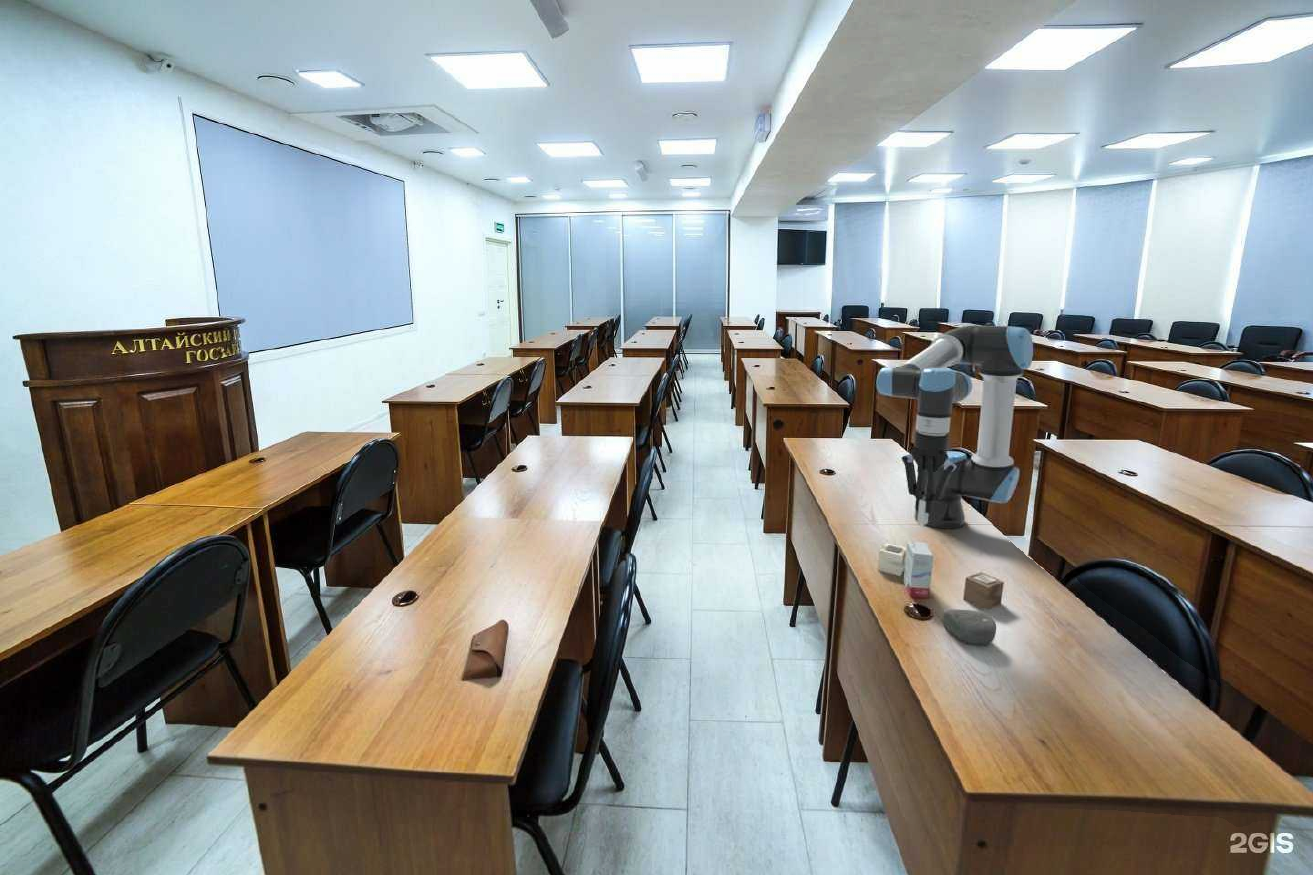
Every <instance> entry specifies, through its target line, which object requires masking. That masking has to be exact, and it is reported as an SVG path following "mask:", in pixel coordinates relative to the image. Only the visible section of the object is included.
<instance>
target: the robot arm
mask: <svg viewBox="0 0 1313 875" xmlns="http://www.w3.org/2000/svg"><path fill="white" fill-rule="evenodd" d="M1033 356H1034V342H1033V336H1032V335H1031V333H1030V330H1028V329H1026V328H1025V327H1020V326H1010V325H1009V326H1008V325H1007V326H1006V325H976V324H974V325H966V326H962V327H956V328H953V329H952V330H949V331H946V332H944V333H942V334H940V335H938V336H937V337H935V338H934V339H933V340H932V342H931V343H930V345H929V346H928V347H926V348H925V349H924V350H922V351H920V353H918V354H916V355H914V356H913V357H911V358H910V359H909V360H907V361H906V362H904V363H903V364H901V365H899V366H898V367H893V366H891V367H888V366H885V367H882V368H881V369H879V372H878V374H877V377H876V390H877V392H878V393H879V394H880V395H883V396H890V397H891V398H893V397H897V398H905V399H914V400H917V401H918V402H917V412H916V421H915V422H916V423H915V433H914V439H913V449H912V450H911V453H910V454H906V455H904V456H903V455H902V456H901V461H902V462H903V465H904V467H905V468H904V469H905V475H906V476H905V477H906V484H907V490H908V494H909V495H912V496H914V497H915V505H914V506H915V507H914V509H915V510H914V519H915V520H916V522H917V523H916V524H917V525H919V526H929V527H932V528H939V529H958V528H959V529H960V528H961V527H963V526H964V525H965V520H966V516H965V512H964V508H963V504H962V496H965V497H968V498H972V499H978V500H982V501H986V502H990V503H998V504H1005V503H1007V502H1009V500H1011V498H1012V496H1013V494H1014V491H1015V490H1016V487H1017V485H1018V480H1019V479H1020V478H1019V477H1020V469H1019V468H1018V467H1017V466H1014V465H1015V464H1014V459H1013V457H1012V456H1010V455H1009V454H1010V445H1011V437H1012V426H1013V417H1014V409H1015V408H1014V406H1015V398H1016V391H1017V390H1016V389H1017V388H1016V387H1017V381H1018V379H1019V378H1020V377H1021V376H1023V375H1024V371H1025V370H1027V369H1029V368H1030V367H1031V365H1032V363H1033ZM959 364H962V365H972V366H978V374H979V375H980V376H981V377H982V379H983V382H982V392H981V393H982V394H981V403H980V404H981V405H980V416H979V426H978V427H979V428H978V437H977V447H976V448H977V450H976V452H975V453H974V454H973V455H971V457H970V459H968V458H967V457H968V456H967V454H966V453H964V452H961V451H952V450H950V451H949V450H948V445H949V438H950V437H949V434H948V433H950V430H951V429H950V428H951V420H952V419H951V418H952V410H953V404H955V403H958V402H959V403H960V402H962V401H964V399H966V398H967V397H968V396H969V395H970V394H971V392H972V390H973V382H972V379H971V377H970V376H969V375H967V373H964V372H962V371H955V370H953V369H951V368H947V367H952V366H955V365H959ZM914 461H915V463H916V465H917V469H915V463H914ZM916 470H917V475H916ZM916 476H917V477H916Z"/></svg>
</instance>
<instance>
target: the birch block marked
mask: <svg viewBox="0 0 1313 875" xmlns="http://www.w3.org/2000/svg"><path fill="white" fill-rule="evenodd" d="M906 550H907V547H904V546H900V545H895V544H891V543H887V542H886V543H885V544H884V545H883V546H882V547H881V548H879V551H878V559H877V560H878V562H877V563H878V564H877V571H879V572H882V573H883V572H884V573H887V574H891V575H896V576H899V577H901V575H902V574H903V573H904V572H905V561H906Z"/></svg>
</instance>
